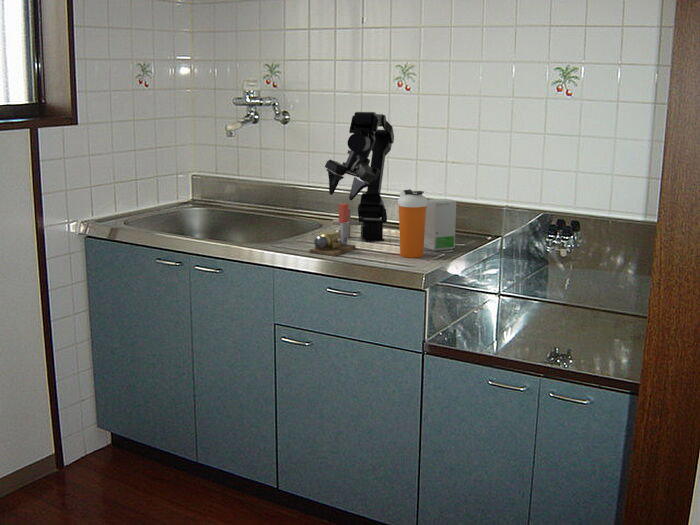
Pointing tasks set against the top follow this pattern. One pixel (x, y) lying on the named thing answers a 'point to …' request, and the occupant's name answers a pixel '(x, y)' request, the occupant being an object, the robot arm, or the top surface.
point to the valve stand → (330, 244)
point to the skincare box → (440, 224)
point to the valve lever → (343, 223)
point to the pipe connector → (348, 223)
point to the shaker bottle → (412, 223)
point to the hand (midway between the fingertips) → (340, 197)
